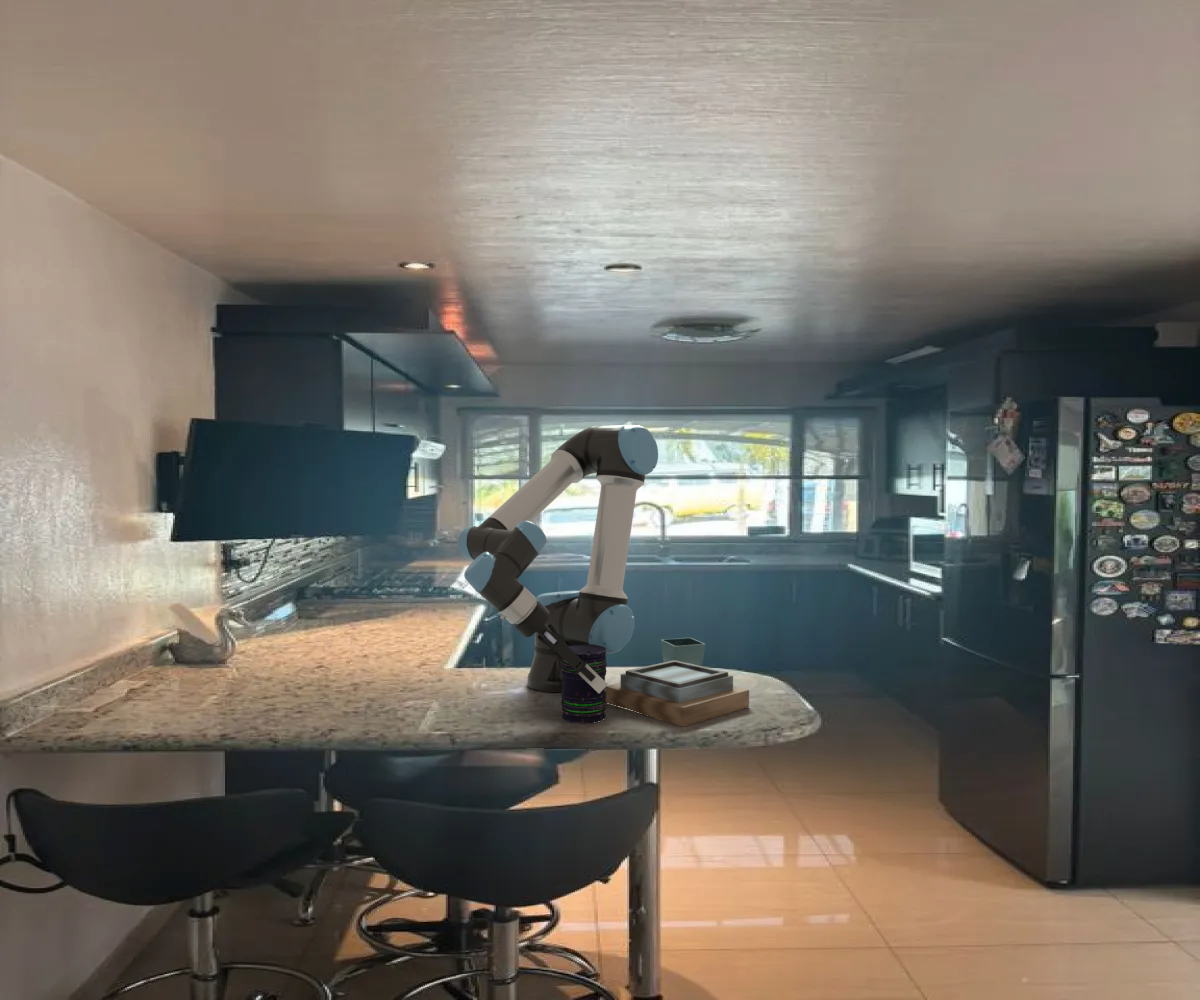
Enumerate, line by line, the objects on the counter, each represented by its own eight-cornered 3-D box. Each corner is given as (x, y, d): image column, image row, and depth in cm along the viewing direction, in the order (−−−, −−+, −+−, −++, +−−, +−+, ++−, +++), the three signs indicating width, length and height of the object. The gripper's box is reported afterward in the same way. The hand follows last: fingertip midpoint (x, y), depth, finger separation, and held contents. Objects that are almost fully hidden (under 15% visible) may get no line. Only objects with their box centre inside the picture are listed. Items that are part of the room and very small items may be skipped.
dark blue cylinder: (554, 713, 204) (555, 646, 203) (596, 709, 207) (597, 643, 207) (569, 726, 195) (569, 655, 194) (613, 721, 198) (613, 652, 197)
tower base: (604, 703, 212) (605, 669, 212) (670, 687, 227) (670, 655, 227) (683, 726, 195) (683, 689, 194) (748, 707, 210) (749, 673, 209)
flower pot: (705, 678, 237) (706, 643, 236) (674, 681, 233) (675, 645, 233) (690, 670, 245) (690, 637, 244) (659, 673, 241) (660, 639, 241)
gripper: (506, 616, 208) (575, 682, 212) (520, 636, 186) (596, 709, 190) (529, 592, 208) (598, 658, 213) (546, 608, 187) (622, 682, 191)
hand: (597, 682), depth 201 cm, fingers closed on dark blue cylinder, 10 cm apart
